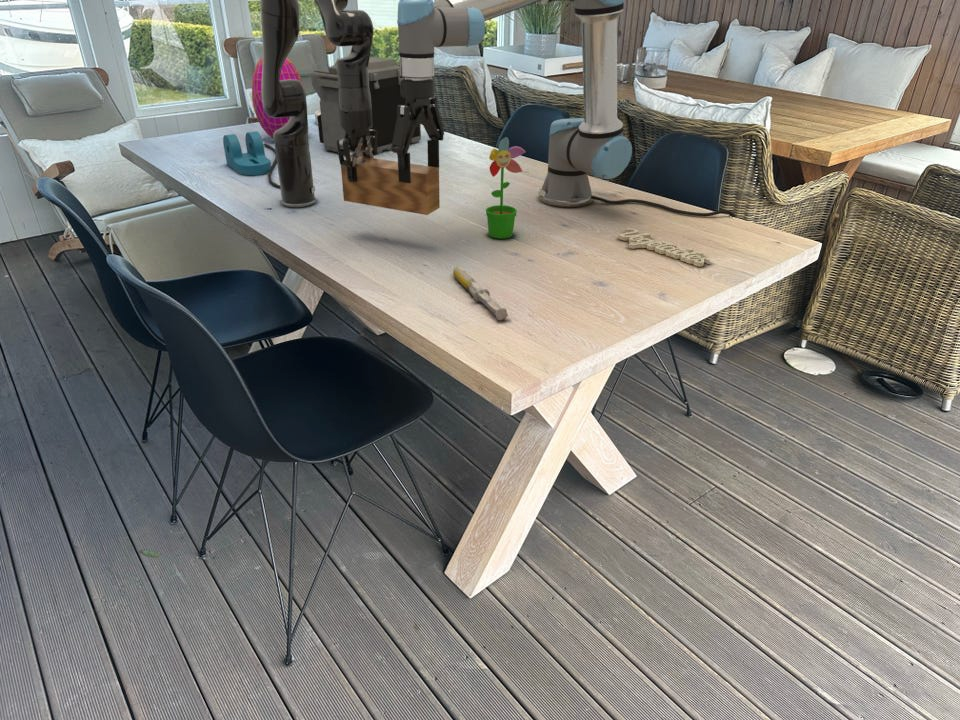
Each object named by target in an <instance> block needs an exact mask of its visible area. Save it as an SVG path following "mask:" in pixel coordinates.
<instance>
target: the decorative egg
mask: <svg viewBox="0 0 960 720" xmlns="http://www.w3.org/2000/svg"><path fill="white" fill-rule="evenodd" d="M262 66H263V57H261V58H260V59H259V60H258V61H257V62H256V65H255V68H254V69H253V70H254V71H253V73H252V77H251V101H252V107H253V110H254V114H255V116H256V118H257V121H258V123H259V125H260V127H261V128H262V130H263V131H264V133H266V135H267V136H268V137H270V138H271V139H273V140H274V137H273V134H274V132H275V131H276V130H278V129H279V128H281V127H283V126H284V125H285V124H286V123H287V122H288V121H289V119H290V117H282V118H271V117H269V116H268V115H267V114H266V113H265V111H264V108H263V104H262V93H261V88H262ZM290 79H296V80H298V81H300V82H301V84H302V85H303V86H304V84H303V81H302V77H301V75H300V73H299V71H298V69H297V67H296V66H295V65H294V63H293V62H292V61H291V60H290V59H288V58H287V57H286V59H285V61H284V63H283V66H282V69H281V73H280V80H290Z"/></svg>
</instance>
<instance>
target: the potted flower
mask: <svg viewBox="0 0 960 720" xmlns="http://www.w3.org/2000/svg"><path fill="white" fill-rule="evenodd" d="M497 148H498V149H497ZM497 148H492V150H491V151H490V154H489V158H488V159H489V160H490V161H492V162H491V163H490V166H489V172H490V175H491V176H492V177H493V178H494V177H496V176H497V175H498V173H499V171H500V189H495V190H493V191H492V192H491V193H490V194H491V195H492V197H494V198H500V199H499V200H500V201H499V204H498V205H491V206H488V207H487V208H486V209H485V215H486V218H487V219H486V220H487V229H488V236H489V237H491V238H494V239H509V238H511V237H512V236H513V234H514V227H515V221H516V217H517V213H518V210H517V208H516V207H513V206H510V205H504V189H507V188H508V187H509V186H510V184H511V182H509V181H506V182H504V179H505V178H504V176H505V174H504V173H505V172H504V171H505V169H506V170H507V171H508V172H510V173H514V174H517V173H522V172H523V169H522V167H521V166H520V164H519V163H518V162H517V161H516V160H515V159H516V158H519V157H520V156H522V155H523V154H525V153H526V152H527V151H526V150H525V149H523V148H522V147H521V146H517V145H514V146H511V147H510V140H509V138H508V137H507V136H506V137H504V138H502V139H501V140H500V141H499V142H498V144H497Z"/></svg>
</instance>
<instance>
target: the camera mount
mask: <svg viewBox="0 0 960 720" xmlns="http://www.w3.org/2000/svg"><path fill="white" fill-rule="evenodd" d="M222 140H223V141H222V143H223V149H224V150H223V151H224V156H225V161H226V165H227V166H228V167H230V168H231V169H232V170H234V171H236V172H237V173H238V174H239V175H244V176H260V175H265V174H268V173H269V170H270V169H271V166H272V164H271V159H270V158H268V157H267V156H266V153H265V145H264V141H263V139H262V136H261V134H260V132H258V131H247V132H246V133H245V146H246V152H243V151H242V150H243V149H242V146H241V142H240V140H239V138H238V135H236V134H235V133H231V134H224V135H223V138H222Z"/></svg>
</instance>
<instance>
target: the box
mask: <svg viewBox="0 0 960 720" xmlns="http://www.w3.org/2000/svg"><path fill="white" fill-rule="evenodd" d="M350 158H351V161H352V158H353V157H350ZM356 171H357V182H349V181H348V178H347V167H346V166H345V165H340V172H341V184H342V185H341V186H342V194H343V196H342V197H343V201H344V202H347V203H355V204H360V205H366V206H372V207H377V208H384V209H388V210H395V211H401V212H407V213H412V214H418V215H423V216H429V215H430V214H433V213H434V212H435V211H437V210H439V209H440V208H441V206H440V205H441V203H440V202H441V201H440V199H441V198H440V167H439V168H437V167H430V166H428V165H424V164H416V163H410V172H411V183H403V182H399V174H398V161H395V160H388V159H381V158H375V157H374V158H368V157H361V156H359V157H358V158H357V161H356Z"/></svg>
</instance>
